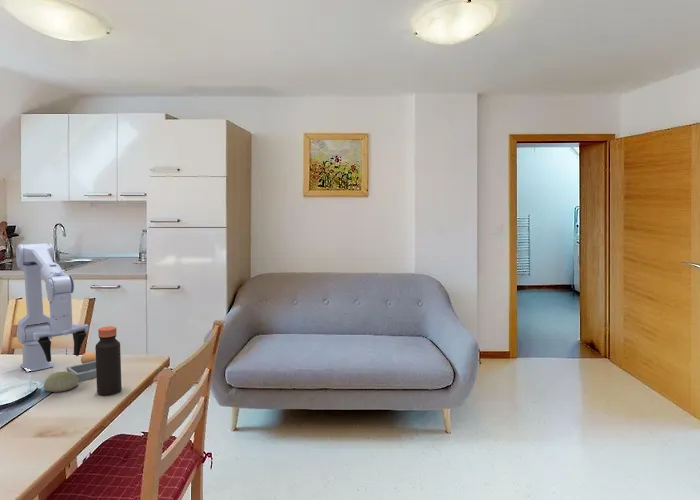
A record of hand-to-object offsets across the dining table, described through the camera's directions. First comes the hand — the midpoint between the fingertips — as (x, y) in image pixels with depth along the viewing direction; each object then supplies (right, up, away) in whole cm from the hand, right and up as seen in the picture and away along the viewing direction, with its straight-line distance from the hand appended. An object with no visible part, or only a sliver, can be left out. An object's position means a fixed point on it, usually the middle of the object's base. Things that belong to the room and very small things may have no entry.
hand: (63, 358), depth 144 cm
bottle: (+14, -11, 0) cm, 18 cm away
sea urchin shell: (-2, -10, +3) cm, 11 cm away
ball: (-4, -8, +22) cm, 24 cm away
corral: (0, -9, +14) cm, 17 cm away
